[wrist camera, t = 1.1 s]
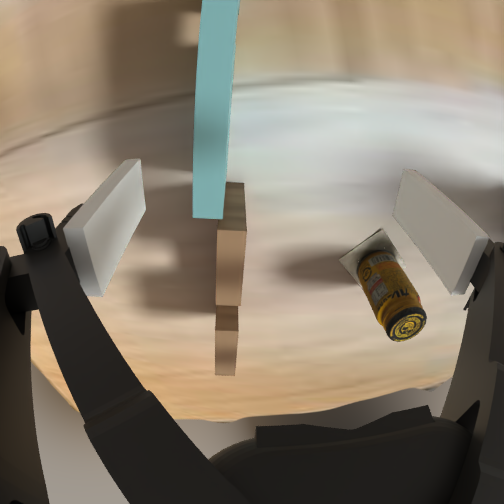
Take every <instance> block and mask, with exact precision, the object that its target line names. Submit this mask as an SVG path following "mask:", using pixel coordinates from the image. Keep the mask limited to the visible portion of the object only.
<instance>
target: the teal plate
mask: <svg viewBox="0 0 504 504" xmlns="http://www.w3.org/2000/svg"><path fill="white" fill-rule="evenodd" d="M239 5H240V0H202V10H201V21H200V32H199V45H198V59H197V74H196V92H195V114H194V144H193V218H207V219H223V208H224V196H225V185H226V174H227V157H228V141H229V126H230V111H231V98H232V84H233V72H234V60H235V48H236V45H235V40H236V29H237V19H238V15H239Z"/></svg>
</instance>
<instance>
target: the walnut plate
mask: <svg viewBox="0 0 504 504" xmlns="http://www.w3.org/2000/svg"><path fill="white" fill-rule="evenodd" d="M246 235H247V226H246V210H245V193H244V183H230V182H226V185H225V196H224V208H223V219H218V228H217V258H216V305H217V308H216V326H215V375H222V376H235V368H236V355H237V343H238V306H241V294H242V282H243V270H244V258H245V247H246Z"/></svg>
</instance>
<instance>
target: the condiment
mask: <svg viewBox="0 0 504 504" xmlns="http://www.w3.org/2000/svg"><path fill="white" fill-rule="evenodd" d="M384 248H385V249H384ZM358 258H359V260H358ZM339 261H340V262H341V264H342V265H343V266H344V267H345V268H346V270H347V271H348V272H349V273H350V274H351V276H352V277H353V278H354V279H355V280H356V282H357V283H358V284H359V285H360V287H361V288H362V289H363V290H364V293H365V294H366V296H367V298H368V301H369V303H370V305H371V307H372V310H373V312H374V314H375V316H376V319H377V321H378V322H379V324H380V325H382V326H383V327H384V329H385V331H386V333H387V335H388V337H389V338H390V339H391V340H393V341H397V342H400V341H405V340H408V339H411V338H412V337H414V336H416V335H417V334H418V333H419V332H420V331H421V330H422V329H423V327H424V325H425V324H426V319H427V316H426V313H425V311H424V310H423V308H422V305H421V301H420V297H419V295H418V293H417V292H416V290H415V288H414V287H413V285H412V283H411V282H410V280H409V279H408V277H407V276H406V274H405V272H404V271H403V269H405V268H406V265H405V264H404V262H403V260H402V259H401V257H400V255H399V254H398V252H397V250H396V249H395V247H394V245H393V244H392V242H391V241H390V239H389V237H388V236H387V234H386V233H385V231H384V230H383V229H382V230H381V231H379V232H378V233H376V234H375V235H373V236H372V237H370V238H369V239H367V240H366V241H364V242H363V243H362V244H360V245H359V246H357V247H356V248H354V249H353V250H352V251H351V252H349V253H347V254H346V255H345V256H344V257H342V258H341V259H339ZM358 261H359V262H358Z"/></svg>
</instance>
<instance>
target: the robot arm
mask: <svg viewBox="0 0 504 504" xmlns="http://www.w3.org/2000/svg"><path fill="white" fill-rule="evenodd" d="M145 211H146V206H145V198H144V189H143V180H142V170H141V160H140V159H126V160H125V161H124V162H123V163H122V164H121V165H120V166H119V167H118V168H117V169H116V170H115V171H114V172H113V173H112V174H111V175H110V176H109V177H108V178H107V179H106V180H105V181H104V182H103V183H102V184H101V185H100V186H99V188H98V189H97V190H96V191H95V192H94V193H93V194H92V195H91V196H90V197H89V199H88V200H87V201H86V202H85V203H84V204H80V205H78V206H77V207H75V208H74V209H72V210H71V211H70V212H69V213H68V215H67V216H66V217H65V218H64V219H63V220H62V223H60V224H59V225H58V226H57V227H56V229H55V227H54V223H53V219H52V216H51V215H50V214H48V213H40V214H36V215H32V216H30V217H28V218H26V219H24V220H23V221H22V222H20V224H19V225H18V226H17V229H16V231H17V234H18V237H19V240H20V243H21V246H22V248H23V251H24V254H22V255H17V256H13V257H9V254H8V252H7V249H6V248H5V247H4V246H0V504H49V499H48V494H47V489H46V484H45V480H44V475H43V470H42V465H41V460H40V454H39V448H38V442H37V435H36V428H35V419H34V410H33V399H32V384H31V353H30V341H31V311H32V310H37V309H39V312H40V315H41V318H42V321H43V324H44V327H45V330H46V333H47V336H48V338H49V341H50V344H51V347H52V349H53V352H54V354H55V357H56V359H57V362H58V364H59V367H60V369H61V372H62V374H63V376H64V379H65V381H66V383H67V386H68V388H69V390H70V392H71V394H72V397H73V399H74V401H75V403H76V405H77V407H78V409H79V411H80V413H81V415H82V417H83V419H84V421H85V424H84V428H85V431H86V433H87V435H88V437H89V439H90V441H91V443H92V445H93V446H94V448H95V450H96V452H97V454H98V455H99V457H100V459H101V460H102V462H103V464H104V465H105V467H106V469H107V470H108V472H109V473H110V475H111V477H112V478H113V480H114V481H115V483H116V484H117V486H118V487H119V489H120V490H121V492H122V493H123V495H124V496H125V498H126V499H127V501H128V502H129V503H130V504H504V243H502V242H496V243H495V244H494V243H493V242H492V241H491V240H490V239H489V238H490V237H489V236H488V235H487V234H486V233H485V232H484V231H483V230H482V229H481V228H480V227H479V226H478V225H477V224H476V223H475V222H474V221H473V220H472V219H471V218H470V217H469V216H468V215H467V214H466V213H465V212H464V211H462V210H461V209H460V208H459V207H458V206H457V205H456V204H455V203H454V202H453V201H451V200H450V199H449V198H448V197H447V196H446V195H445V194H443V193H442V192H441V191H440V190H439V189H438V188H436V187H435V186H434V185H433V184H432V183H430V182H429V181H428V180H427V179H426V178H424V177H423V176H422V175H421V174H419V173H418V172H417V171H416V170H409V169H403V173H402V178H401V183H400V187H399V191H398V195H397V200H396V204H395V208H394V212H393V217H394V218H395V219H396V220H397V222H398V223H399V224H400V225H401V227H402V228H403V229H404V230H405V232H406V233H407V234H408V236H409V237H410V238H411V240H412V241H413V242H414V244H415V245H416V246H417V247H418V249H419V250H420V252H421V253H422V254H423V256H424V257H425V258H426V260H427V261H428V262H429V264H430V265H431V267H432V268H433V269H434V271H435V272H436V274H437V275H438V277H439V278H440V280H441V281H442V282H443V284H444V285H445V287H446V288H447V290H448V291H449V293H450V294H451V295H461V294H465V292H466V290H467V288H468V286H469V283H470V282H471V283H472V285H473V286H474V287H475V288H474V290H473V292H472V294H471V296H470V298H469V300H468V302H467V304H466V305H465V307H464V309H463V310H466V309H467V308H469V309H468V314H467V320H466V325H465V330H464V334H463V339H462V343H461V348H460V352H459V356H458V360H457V364H456V368H455V371H454V375H453V378H452V382H451V386H450V389H449V392H448V395H447V398H446V401H445V405H444V407H443V410H442V413H441V416H440V417H434V416H432V415H431V412H430V409H429V407H428V405H426V406H421V407H417V408H412V409H408V410H403V411H398V412H393V413H391V414H389V415H386V416H384V417H382V418H380V419H378V420H375V421H374V422H371V423H369V424H366V425H364V426H362V427H359V428H357V429H353V430H347V429H337V428H328V427H321V426H313V425H306V424H300V425H282V426H256V430H255V438H252V439H249V440H245V441H242V442H239V443H237V444H233V445H232V446H230V447H227V448H225V449H223V450H221V451H220V452H218V453H217V454H215V455H214V456H212V457H211V458H210V459H209V460H208V459H207V458H206V457H205V456H204V455H203V454H202V452H201V451H200V450H199V449H198V448H197V447H196V446H195V444H194V443H193V442H192V441H191V440H190V439H189V438H188V436H187V435H186V434H185V433H184V432H183V430H182V429H181V428H180V427H179V426H178V425H177V423H176V422H175V421H174V419H173V418H172V417H171V416H170V414H169V413H168V412H167V411H166V409H165V408H164V407H163V406H162V404H161V403H160V402H159V400H158V399H157V398H156V397H155V395H154V394H153V393H152V392H151V391H150V390H148V391H147V390H146V389H145V388H144V387H143V386H142V384H141V383H140V381H139V380H138V379H137V377H136V376H135V374H134V373H133V371H132V370H131V368H130V367H129V365H128V364H127V362H126V361H125V359H124V358H123V356H122V355H121V353H120V352H119V350H118V349H117V347H116V345H115V344H114V342H113V341H112V339H111V337H110V336H109V334H108V333H107V331H106V329H105V328H104V326H103V324H102V322H101V321H100V319H99V317H98V316H97V314H96V312H95V310H94V309H93V307H92V305H91V303H90V301H89V300H88V298H87V296H95V297H103V295H104V293H105V291H106V289H107V286H108V284H109V282H110V280H111V278H112V276H113V273H114V271H115V269H116V267H117V265H118V263H119V261H120V259H121V257H122V255H123V253H124V251H125V249H126V247H127V245H128V243H129V241H130V239H131V237H132V235H133V233H134V231H135V229H136V227H137V226H138V224H139V222H140V220H141V218H142V216H143V214H144V212H145Z"/></svg>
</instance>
